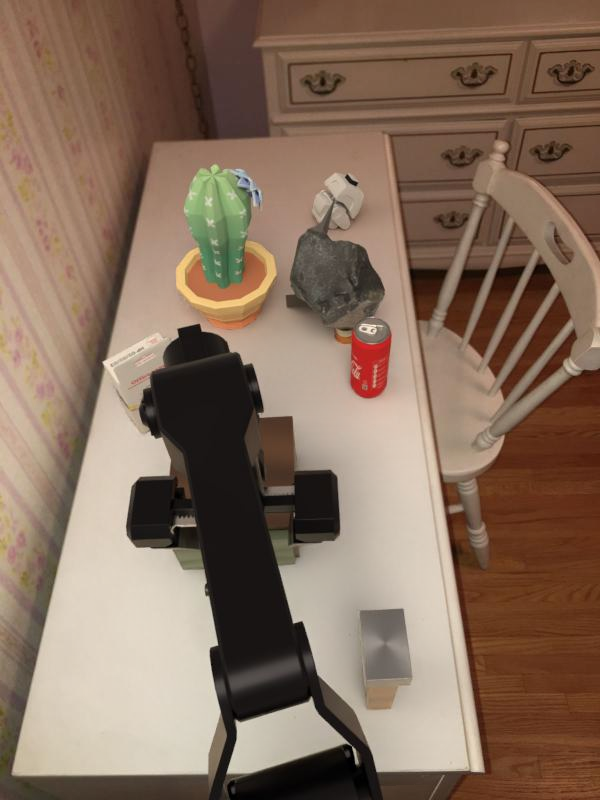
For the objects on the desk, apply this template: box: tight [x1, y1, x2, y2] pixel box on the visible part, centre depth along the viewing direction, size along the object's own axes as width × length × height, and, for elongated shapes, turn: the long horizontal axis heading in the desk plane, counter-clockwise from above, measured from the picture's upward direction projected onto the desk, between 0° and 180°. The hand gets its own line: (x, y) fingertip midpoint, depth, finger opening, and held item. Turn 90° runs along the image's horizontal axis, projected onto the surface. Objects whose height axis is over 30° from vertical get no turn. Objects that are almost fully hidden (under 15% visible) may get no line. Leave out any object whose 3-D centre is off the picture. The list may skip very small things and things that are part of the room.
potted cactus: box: [175, 164, 278, 331], centre depth 93 cm, size 15×15×25 cm
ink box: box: [102, 331, 173, 435], centre depth 86 cm, size 8×5×15 cm, turn 127°
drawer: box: [171, 529, 296, 597], centre depth 76 cm, size 18×13×7 cm
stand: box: [364, 686, 399, 711], centre depth 64 cm, size 5×2×13 cm, turn 2°
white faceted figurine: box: [311, 172, 365, 230], centre depth 111 cm, size 6×7×10 cm
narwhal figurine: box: [285, 197, 386, 345], centre depth 92 cm, size 14×15×18 cm
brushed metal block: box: [358, 607, 414, 689], centre depth 58 cm, size 6×4×3 cm, turn 2°
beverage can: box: [349, 316, 393, 400], centre depth 88 cm, size 5×5×12 cm
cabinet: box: [168, 415, 301, 559], centre depth 79 cm, size 15×15×9 cm
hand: (245, 543), depth 65 cm, fingers open, 9 cm apart
